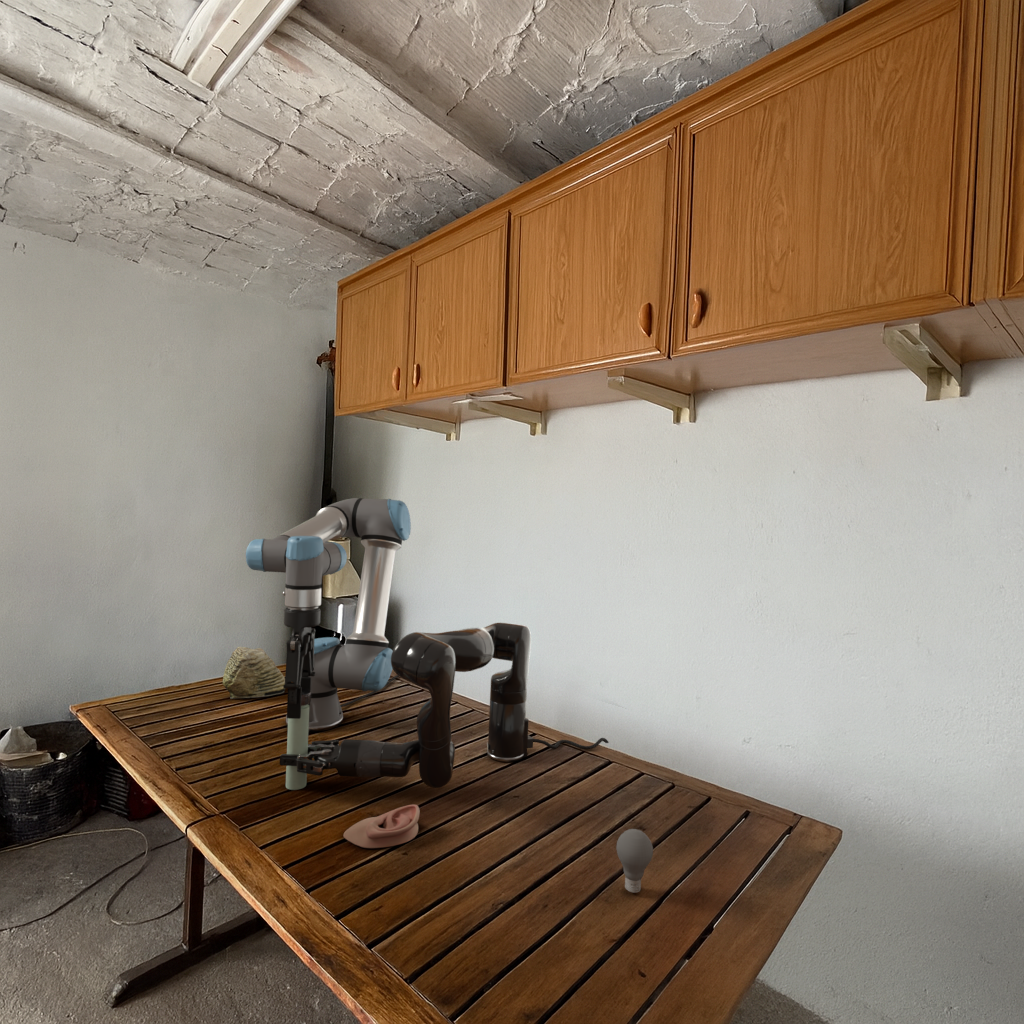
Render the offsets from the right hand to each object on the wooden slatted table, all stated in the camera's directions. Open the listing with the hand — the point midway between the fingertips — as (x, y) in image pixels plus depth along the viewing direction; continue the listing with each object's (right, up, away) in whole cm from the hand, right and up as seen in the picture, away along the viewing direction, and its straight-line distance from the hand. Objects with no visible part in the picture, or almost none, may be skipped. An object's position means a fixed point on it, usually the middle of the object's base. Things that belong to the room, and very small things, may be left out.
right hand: (284, 755), depth 138 cm
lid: (+3, +13, 0) cm, 14 cm away
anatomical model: (+25, -8, -18) cm, 32 cm away
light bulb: (+70, -10, -33) cm, 78 cm away
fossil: (-31, -4, +60) cm, 67 cm away
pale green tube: (+2, -7, 0) cm, 7 cm away
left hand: (+3, +9, 0) cm, 10 cm away
